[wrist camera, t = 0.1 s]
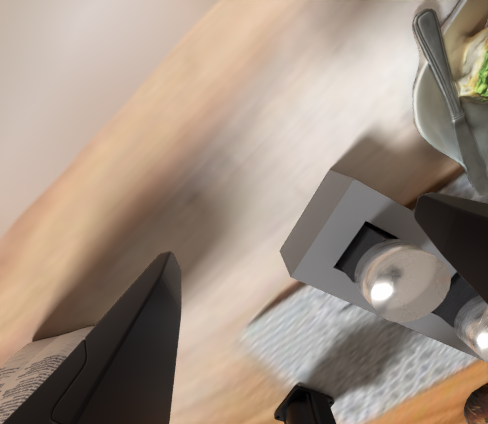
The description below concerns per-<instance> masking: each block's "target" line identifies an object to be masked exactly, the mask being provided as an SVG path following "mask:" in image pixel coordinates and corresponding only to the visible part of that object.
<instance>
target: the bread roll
mask: <svg viewBox="0 0 488 424" xmlns="http://www.w3.org/2000/svg"><path fill="white" fill-rule="evenodd" d="M464 415H465V417H466V419H467V420H466V421H467V423H468V424H488V384H486V385H485V386H483V387H481V388H479V389H478V390H475V391H474V392H472V394H471V395H470V396H469V398H468V399H467V405H465V408H464Z"/></svg>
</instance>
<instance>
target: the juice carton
mask: <svg viewBox="0 0 488 424" xmlns="http://www.w3.org/2000/svg"><path fill="white" fill-rule="evenodd" d="M94 327H95V326H91V327H86V328H83V329H79V330H76V331H73V332H70V333H67V334H64V335H60V336H56V337H51V338H46V339H42V340H39V341H35V342H32V343H29V344H27V345H26V346H24V347H23V348H22V349H21V350H20V351H18V352H17V353H16V354H15V355H14V356H13V357H12V358H11V359H9V360H8V361H7V362H6V363H5V364H4V365H3V366H2V367H1V368H0V424H2V423H3V422H4V421H5V420H6V419H7V418H8V417H9V416H10V415H11V414H12V413H13V412H14V411H15V410H16V409H17V408H18V407H19V406H20V405H21V404H22V403H23V402H24V401H25V400H26V399H27V398H28V397H29V396H30V395H31V394H32V393H33V392H34V391H35V390H36V389H37V388H38V387H39V386H40V385H41V384H42V383H43V382H44V381H45V380H46V379H47V378H48V377H49V376H50V375H51V374H52V373H53V371H54V370H55V369H56V368H57V367H58V366H59V365H60V364H61V363H62V362H63V361H64V360H65V359H66V358H67V356H68V355H69V354H70V353H71V352H72V351H73V350H74V349H75V348H76V347H77V345H78V344H79V343H80V342H81V341H82V340H83V339H85V337H86V335H87V334H88V333H89V332H90V331H91V330H92V329H93V328H94Z"/></svg>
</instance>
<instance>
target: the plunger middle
mask: <svg viewBox="0 0 488 424" xmlns="http://www.w3.org/2000/svg"><path fill="white" fill-rule="evenodd" d="M433 311H434V312H435V313H436V314H437V315H439V316H440V317H441V318H442V319H443V320H444V321H445V322H447V323H448V324H449V325H450V326H451V327H452V328H454V330H455V333H456V335H457V336H458V337H459V338H460V339H461V340H462V341H463V342H464V343H466V344H467V345H468V346H469V347H470V348H471V349H472V350H473V351H475V352H476V353H477V354H478V355H479V356H480V357H481V358H482V359H483V360H485V361H486V362H487V363H488V304H487V303H486V302H485V301H484V300H483V299H482V298H481V297H480V296H479V295H478V294H477V292H476V291H475V290H474V289H473V288H472V287H471V286H470V285H469V284H468V283H467V282H466V281H465V280H464V278H463V277H462V276H461V275H460V274H459V273H458V272H456V273H455V274H454V275H453V276H452V278H451V283H450V288H449V291H448V293H447V295H446V297H445V298H444V300H443V301H442V303H441V304H440V305H439V306H438V307H437V308H436V309H435V310H433Z"/></svg>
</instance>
